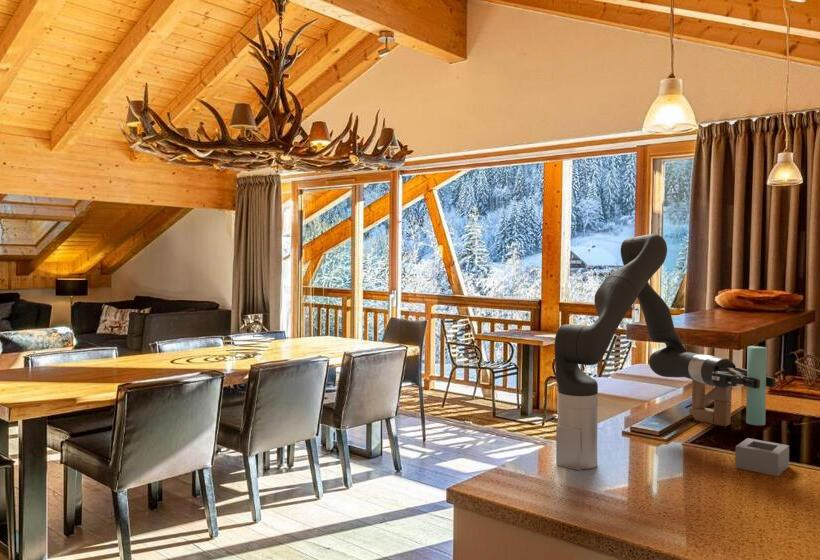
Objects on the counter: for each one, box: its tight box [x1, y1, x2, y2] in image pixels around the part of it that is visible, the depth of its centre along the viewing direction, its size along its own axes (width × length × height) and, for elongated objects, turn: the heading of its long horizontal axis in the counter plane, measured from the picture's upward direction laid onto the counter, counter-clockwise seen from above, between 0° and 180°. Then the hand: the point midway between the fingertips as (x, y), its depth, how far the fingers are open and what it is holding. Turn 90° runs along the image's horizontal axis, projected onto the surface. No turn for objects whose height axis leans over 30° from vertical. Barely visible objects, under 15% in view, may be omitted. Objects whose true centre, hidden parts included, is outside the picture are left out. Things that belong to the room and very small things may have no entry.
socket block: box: [734, 437, 790, 477], centre depth 152 cm, size 9×9×5 cm
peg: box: [745, 345, 768, 426], centre depth 153 cm, size 4×4×18 cm
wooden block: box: [688, 379, 732, 427], centre depth 192 cm, size 4×11×18 cm, turn 42°
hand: (766, 383), depth 151 cm, fingers closed on peg, 4 cm apart
